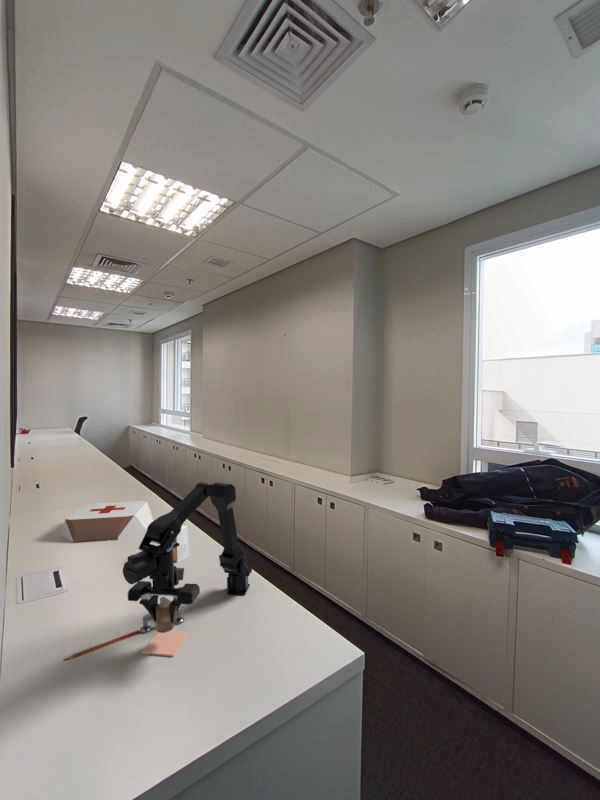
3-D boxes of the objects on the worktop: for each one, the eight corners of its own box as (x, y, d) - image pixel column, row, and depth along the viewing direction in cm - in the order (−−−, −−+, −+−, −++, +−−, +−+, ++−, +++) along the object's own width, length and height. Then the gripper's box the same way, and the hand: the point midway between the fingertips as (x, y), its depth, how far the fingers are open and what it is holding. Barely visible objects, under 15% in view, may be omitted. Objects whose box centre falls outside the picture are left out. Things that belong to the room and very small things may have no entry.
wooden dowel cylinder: (176, 622, 107) (176, 602, 107) (169, 633, 102) (168, 611, 102) (161, 621, 108) (160, 601, 107) (153, 632, 103) (152, 610, 103)
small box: (163, 558, 158) (162, 528, 157) (175, 552, 163) (174, 523, 163) (177, 562, 154) (176, 531, 153) (189, 556, 159) (188, 526, 159)
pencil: (138, 632, 111) (138, 629, 111) (139, 634, 110) (139, 631, 110) (62, 661, 100) (62, 657, 100) (62, 663, 99) (62, 660, 99)
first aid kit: (140, 539, 180) (140, 518, 180) (49, 545, 175) (48, 524, 175) (159, 515, 214) (158, 497, 213) (82, 519, 209) (82, 501, 209)
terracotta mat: (188, 634, 109) (188, 632, 109) (173, 656, 100) (173, 654, 100) (159, 632, 110) (158, 630, 110) (141, 653, 101) (141, 652, 101)
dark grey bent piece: (192, 608, 121) (192, 596, 121) (173, 635, 108) (172, 621, 108) (160, 606, 123) (160, 594, 123) (138, 633, 110) (137, 618, 110)
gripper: (206, 555, 111) (208, 606, 112) (147, 552, 114) (149, 603, 114) (190, 574, 100) (192, 631, 101) (125, 571, 103) (127, 626, 103)
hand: (165, 621), depth 105 cm, fingers closed on wooden dowel cylinder, 5 cm apart
